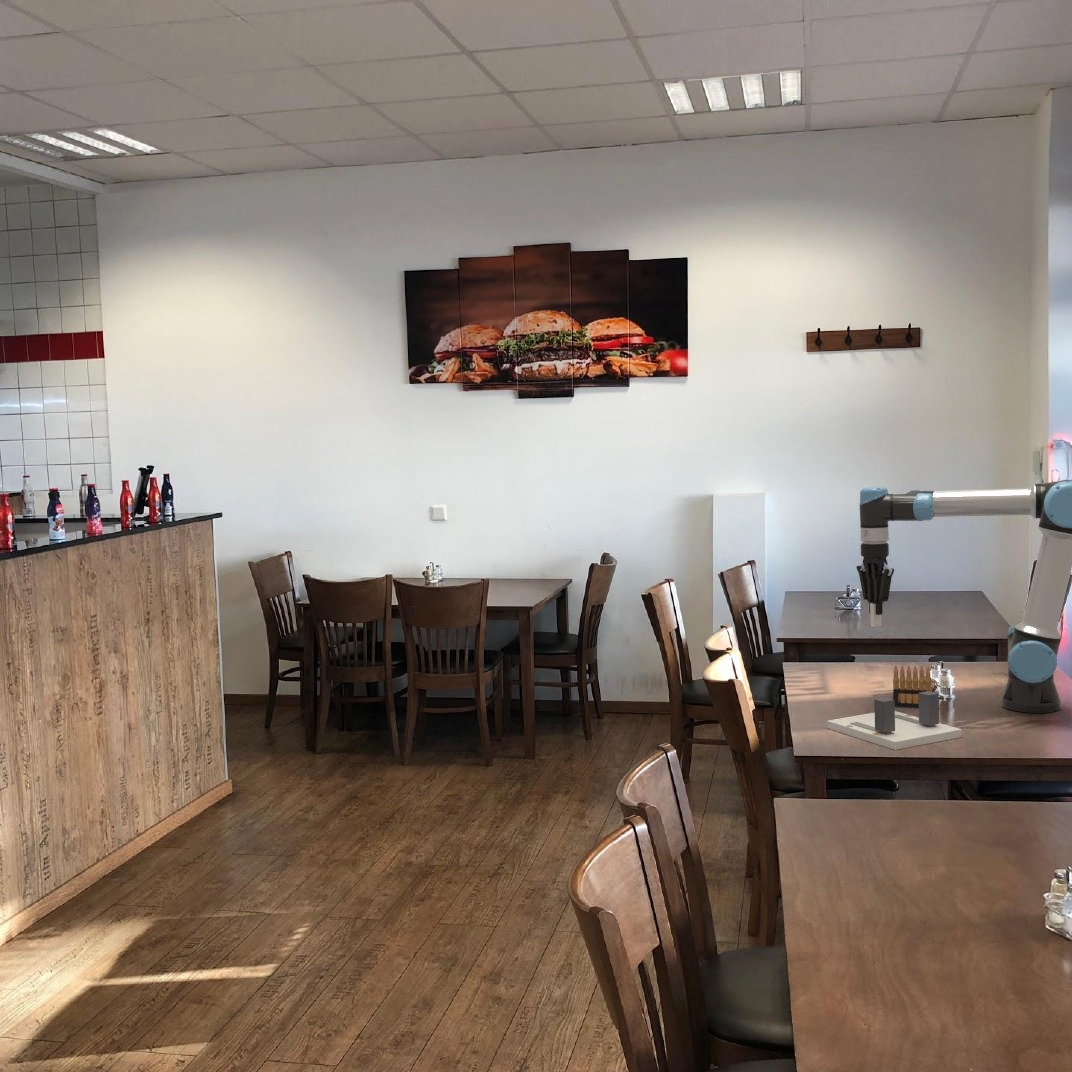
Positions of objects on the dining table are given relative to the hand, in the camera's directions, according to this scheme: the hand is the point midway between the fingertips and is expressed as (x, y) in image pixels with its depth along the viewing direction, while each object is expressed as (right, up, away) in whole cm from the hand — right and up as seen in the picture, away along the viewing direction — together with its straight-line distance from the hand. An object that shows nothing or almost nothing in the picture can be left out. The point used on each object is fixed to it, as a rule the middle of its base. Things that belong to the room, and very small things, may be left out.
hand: (876, 625), depth 316 cm
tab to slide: (+6, -23, -24) cm, 34 cm away
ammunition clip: (+12, -24, +5) cm, 27 cm away
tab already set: (-7, -24, -29) cm, 39 cm away
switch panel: (-2, -26, -22) cm, 34 cm away
